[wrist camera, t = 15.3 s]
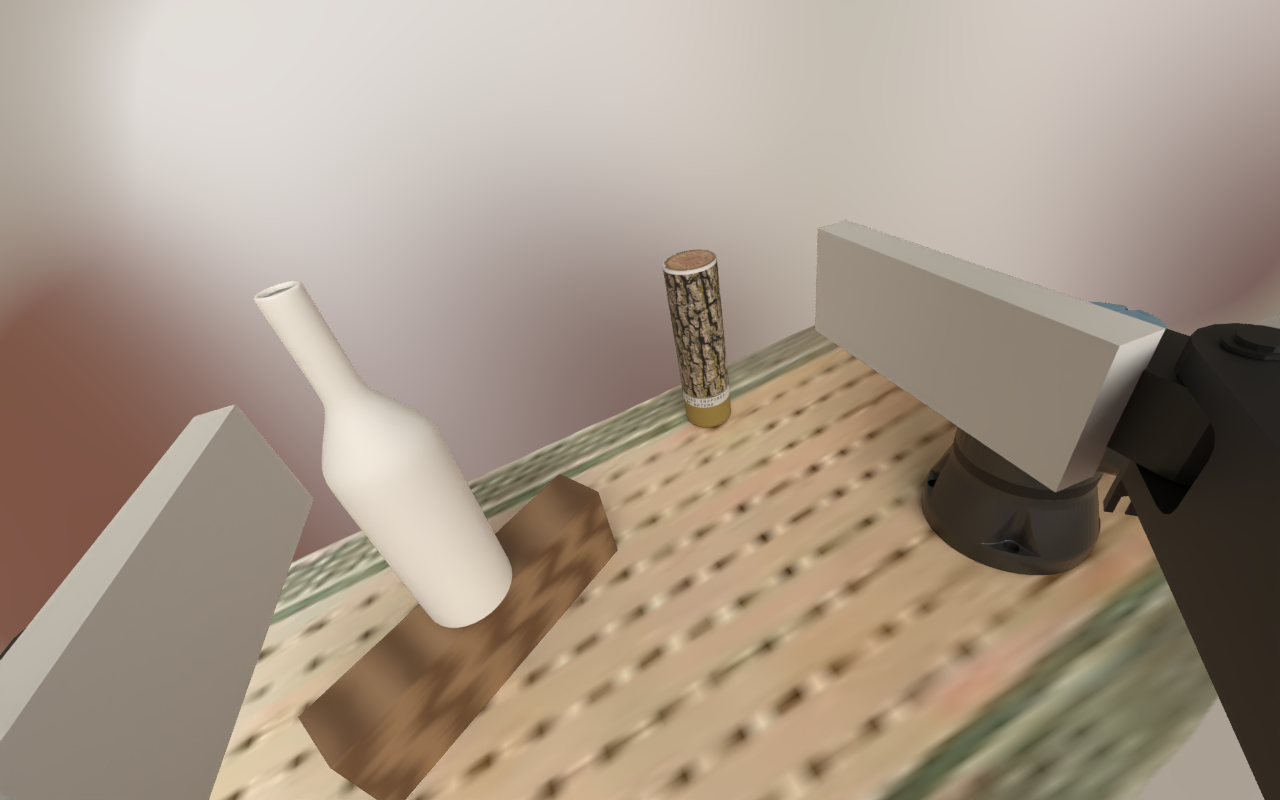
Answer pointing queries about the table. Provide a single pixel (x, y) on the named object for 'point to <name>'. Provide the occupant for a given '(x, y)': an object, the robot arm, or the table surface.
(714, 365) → the paper tube
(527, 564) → the wooden block
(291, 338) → the bottle
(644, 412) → the table surface
